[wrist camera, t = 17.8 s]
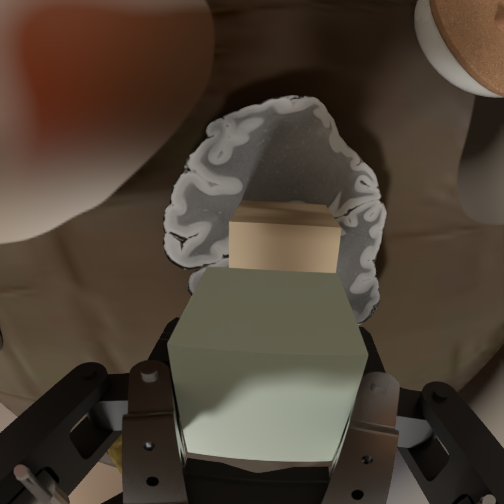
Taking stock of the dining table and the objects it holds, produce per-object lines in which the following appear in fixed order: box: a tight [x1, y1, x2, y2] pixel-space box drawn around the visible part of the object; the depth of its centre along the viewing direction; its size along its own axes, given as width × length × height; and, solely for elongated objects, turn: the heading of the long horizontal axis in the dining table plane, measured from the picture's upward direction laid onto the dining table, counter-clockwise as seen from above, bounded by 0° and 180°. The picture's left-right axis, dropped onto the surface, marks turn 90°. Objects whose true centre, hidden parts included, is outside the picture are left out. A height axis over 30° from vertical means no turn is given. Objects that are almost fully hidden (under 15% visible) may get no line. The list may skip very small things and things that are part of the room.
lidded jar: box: [414, 0, 504, 97], centre depth 14 cm, size 11×11×9 cm
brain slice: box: [163, 95, 387, 325], centre depth 25 cm, size 20×17×3 cm
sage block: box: [167, 266, 368, 461], centre depth 10 cm, size 5×5×5 cm
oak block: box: [229, 200, 341, 273], centre depth 20 cm, size 6×6×6 cm
